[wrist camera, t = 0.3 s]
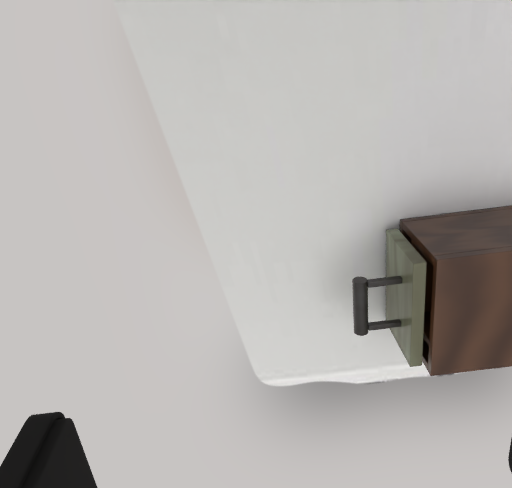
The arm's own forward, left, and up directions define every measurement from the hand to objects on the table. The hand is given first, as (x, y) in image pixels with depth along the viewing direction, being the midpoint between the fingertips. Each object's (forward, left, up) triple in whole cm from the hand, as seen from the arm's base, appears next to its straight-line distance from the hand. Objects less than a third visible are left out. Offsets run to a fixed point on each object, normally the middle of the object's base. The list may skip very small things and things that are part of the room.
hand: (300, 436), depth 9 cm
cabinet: (+17, +22, -36) cm, 46 cm away
